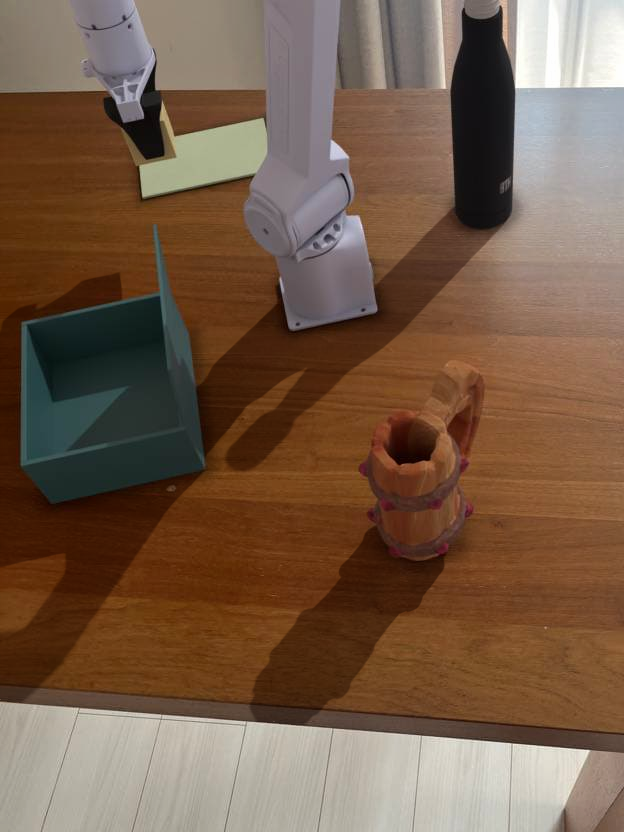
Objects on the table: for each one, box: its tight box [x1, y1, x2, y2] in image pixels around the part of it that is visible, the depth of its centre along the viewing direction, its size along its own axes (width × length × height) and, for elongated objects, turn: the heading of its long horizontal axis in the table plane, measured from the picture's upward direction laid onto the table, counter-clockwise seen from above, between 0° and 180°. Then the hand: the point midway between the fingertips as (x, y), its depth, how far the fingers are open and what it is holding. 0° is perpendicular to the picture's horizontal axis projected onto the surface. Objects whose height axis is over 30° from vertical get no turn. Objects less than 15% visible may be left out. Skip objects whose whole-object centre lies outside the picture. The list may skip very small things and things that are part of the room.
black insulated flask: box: [449, 0, 516, 230], centre depth 86 cm, size 6×6×30 cm
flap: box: [152, 224, 185, 425], centre depth 80 cm, size 7×18×1 cm
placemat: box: [138, 117, 267, 200], centre depth 108 cm, size 16×10×1 cm, turn 102°
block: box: [120, 100, 177, 167], centre depth 92 cm, size 4×4×4 cm
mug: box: [357, 359, 486, 562], centre depth 74 cm, size 15×8×15 cm, turn 148°
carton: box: [20, 291, 206, 505], centre depth 86 cm, size 15×18×6 cm
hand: (153, 141), depth 94 cm, fingers closed on block, 4 cm apart
